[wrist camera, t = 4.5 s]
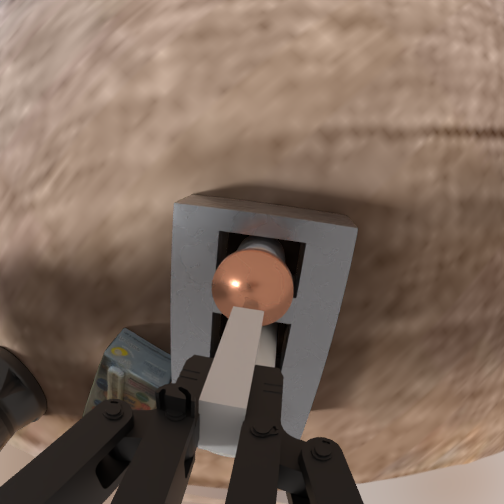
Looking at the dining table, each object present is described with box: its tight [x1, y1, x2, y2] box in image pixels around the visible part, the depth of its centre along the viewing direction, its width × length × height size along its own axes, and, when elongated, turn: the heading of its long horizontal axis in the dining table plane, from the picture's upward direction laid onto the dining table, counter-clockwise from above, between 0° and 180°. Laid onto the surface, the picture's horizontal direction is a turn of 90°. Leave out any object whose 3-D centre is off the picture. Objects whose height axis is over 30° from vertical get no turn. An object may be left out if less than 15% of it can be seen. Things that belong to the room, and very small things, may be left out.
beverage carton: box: [82, 328, 172, 418], centre depth 35 cm, size 8×19×7 cm, turn 150°
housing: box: [171, 194, 358, 440], centre depth 30 cm, size 14×24×5 cm, turn 173°
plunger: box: [212, 235, 293, 326], centre depth 24 cm, size 5×5×7 cm
